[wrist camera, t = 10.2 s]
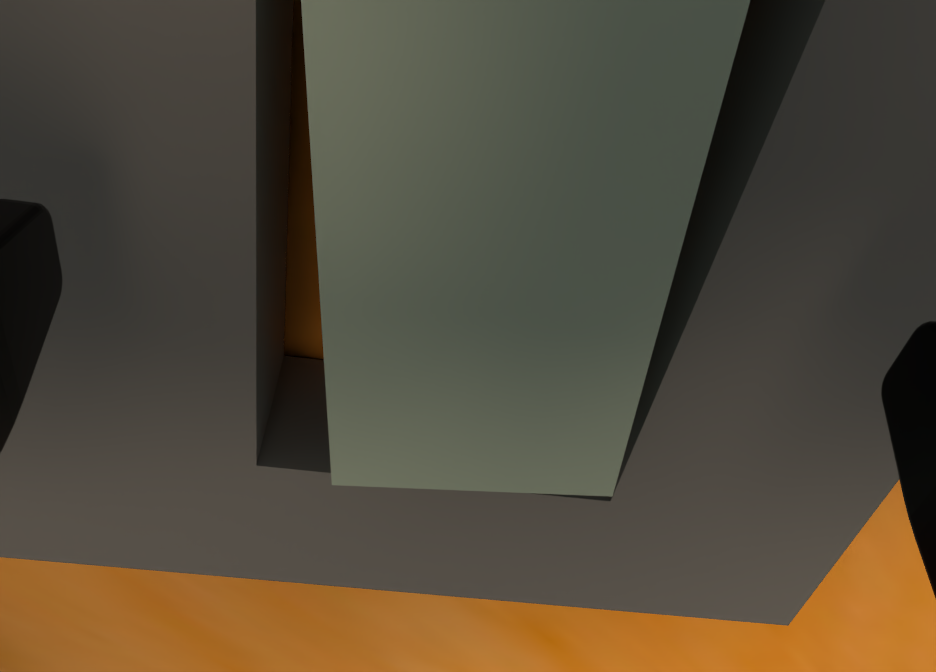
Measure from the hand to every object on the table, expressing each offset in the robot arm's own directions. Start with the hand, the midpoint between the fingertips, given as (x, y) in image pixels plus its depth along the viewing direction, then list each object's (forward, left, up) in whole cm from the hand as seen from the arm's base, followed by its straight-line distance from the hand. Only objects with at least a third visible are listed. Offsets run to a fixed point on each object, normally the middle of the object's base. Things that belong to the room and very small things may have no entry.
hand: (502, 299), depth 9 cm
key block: (0, 0, -4) cm, 4 cm away
